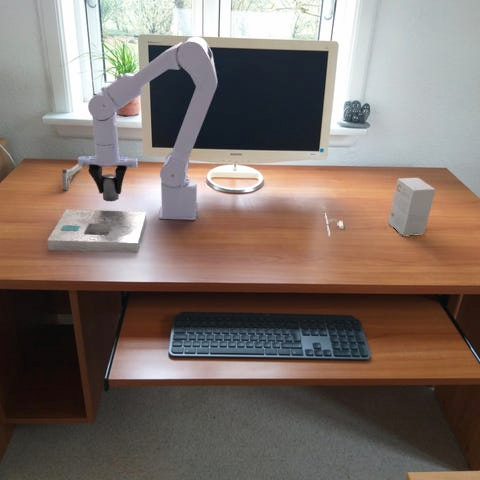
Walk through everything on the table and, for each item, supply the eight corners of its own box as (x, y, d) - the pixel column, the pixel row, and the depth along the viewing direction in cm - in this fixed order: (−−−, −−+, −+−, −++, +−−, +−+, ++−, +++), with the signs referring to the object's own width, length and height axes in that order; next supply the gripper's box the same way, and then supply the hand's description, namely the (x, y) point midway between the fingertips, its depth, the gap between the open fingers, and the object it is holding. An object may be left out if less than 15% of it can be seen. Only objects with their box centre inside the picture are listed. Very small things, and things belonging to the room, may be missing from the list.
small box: (424, 235, 130) (436, 189, 124) (402, 237, 129) (413, 190, 122) (407, 221, 137) (418, 177, 131) (387, 223, 136) (397, 178, 129)
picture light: (323, 214, 139) (324, 207, 138) (339, 216, 139) (340, 209, 138) (328, 238, 127) (329, 231, 126) (345, 240, 127) (346, 233, 126)
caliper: (67, 192, 142) (65, 171, 139) (63, 191, 142) (61, 171, 139) (83, 166, 160) (81, 147, 157) (79, 166, 160) (77, 147, 157)
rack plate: (146, 220, 129) (146, 211, 128) (137, 252, 115) (137, 242, 114) (67, 218, 128) (66, 209, 126) (48, 249, 114) (47, 239, 112)
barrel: (119, 195, 134) (118, 174, 131) (117, 201, 130) (115, 180, 127) (104, 194, 133) (102, 173, 131) (101, 201, 130) (99, 179, 127)
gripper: (138, 138, 128) (140, 187, 135) (80, 136, 128) (85, 185, 134) (134, 147, 122) (136, 197, 129) (73, 144, 121) (79, 196, 128)
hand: (110, 192), depth 131 cm, fingers closed on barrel, 4 cm apart
